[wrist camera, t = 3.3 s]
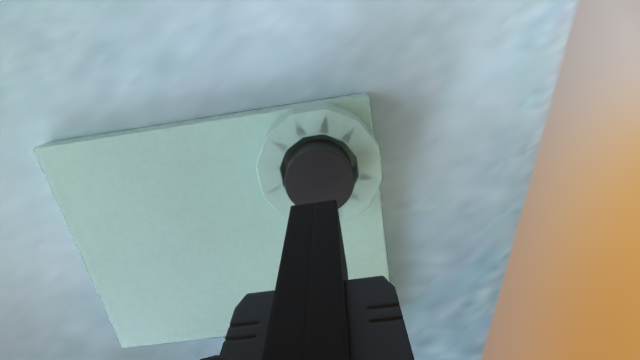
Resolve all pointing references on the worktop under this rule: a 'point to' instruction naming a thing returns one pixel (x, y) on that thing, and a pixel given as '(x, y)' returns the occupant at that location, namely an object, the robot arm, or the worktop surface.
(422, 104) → the worktop surface
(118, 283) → the scale
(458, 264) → the worktop surface
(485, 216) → the worktop surface
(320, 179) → the button
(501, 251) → the worktop surface
